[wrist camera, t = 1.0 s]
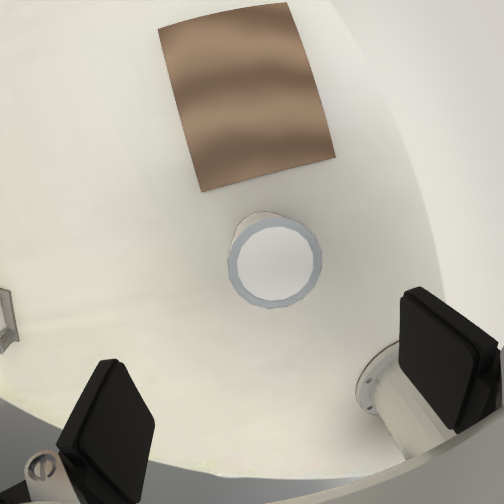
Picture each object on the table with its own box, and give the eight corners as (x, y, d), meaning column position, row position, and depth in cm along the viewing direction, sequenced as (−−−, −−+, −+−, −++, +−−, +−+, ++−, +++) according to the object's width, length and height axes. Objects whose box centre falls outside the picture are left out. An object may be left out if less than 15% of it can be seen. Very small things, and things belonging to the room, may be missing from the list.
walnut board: (330, 157, 26) (335, 157, 25) (202, 191, 26) (201, 192, 25) (283, 9, 22) (286, 2, 20) (160, 35, 22) (157, 29, 20)
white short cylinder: (290, 196, 27) (312, 205, 20) (306, 265, 29) (329, 294, 22) (216, 216, 27) (214, 233, 20) (237, 285, 29) (242, 320, 22)
